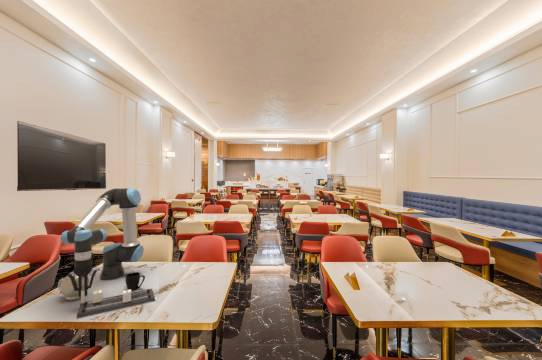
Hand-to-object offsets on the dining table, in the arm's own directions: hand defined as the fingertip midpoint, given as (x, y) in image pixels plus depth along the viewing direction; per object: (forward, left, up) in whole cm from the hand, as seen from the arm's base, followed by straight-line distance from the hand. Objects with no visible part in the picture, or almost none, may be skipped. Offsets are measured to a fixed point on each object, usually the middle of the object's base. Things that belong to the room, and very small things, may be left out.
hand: (82, 302), depth 137 cm
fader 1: (0, +7, -1) cm, 7 cm away
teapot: (-20, -7, -4) cm, 21 cm away
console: (+4, +17, -4) cm, 17 cm away
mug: (-13, +26, -4) cm, 29 cm away
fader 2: (+8, +21, -1) cm, 22 cm away
